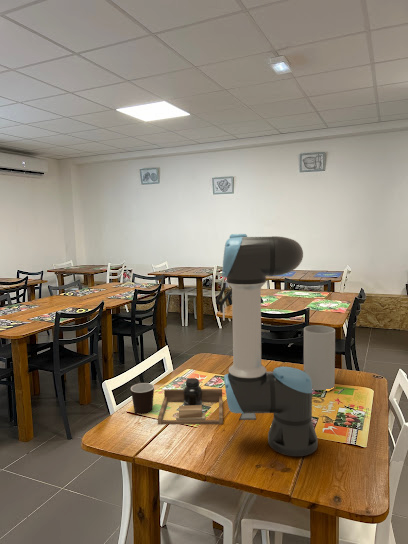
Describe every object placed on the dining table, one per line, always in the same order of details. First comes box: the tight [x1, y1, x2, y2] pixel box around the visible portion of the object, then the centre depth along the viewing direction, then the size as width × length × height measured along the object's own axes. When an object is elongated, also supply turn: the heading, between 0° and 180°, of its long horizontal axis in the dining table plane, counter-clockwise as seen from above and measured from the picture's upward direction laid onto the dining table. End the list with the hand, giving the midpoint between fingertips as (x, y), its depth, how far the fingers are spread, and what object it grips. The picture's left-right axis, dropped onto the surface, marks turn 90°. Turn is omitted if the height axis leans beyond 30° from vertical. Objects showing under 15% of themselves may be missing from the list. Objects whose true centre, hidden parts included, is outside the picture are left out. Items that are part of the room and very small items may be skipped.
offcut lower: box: [175, 412, 206, 420], centre depth 140 cm, size 4×10×3 cm, turn 88°
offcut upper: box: [178, 404, 203, 418], centre depth 139 cm, size 4×8×3 cm, turn 90°
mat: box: [238, 413, 257, 421], centre depth 146 cm, size 12×12×1 cm
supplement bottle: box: [183, 377, 203, 406], centre depth 148 cm, size 7×7×12 cm
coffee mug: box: [130, 382, 155, 416], centre depth 148 cm, size 12×9×10 cm
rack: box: [157, 388, 224, 425], centre depth 145 cm, size 18×22×6 cm
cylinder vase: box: [303, 324, 336, 390], centre depth 165 cm, size 12×12×25 cm
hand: (239, 319), depth 169 cm, fingers open, 13 cm apart
